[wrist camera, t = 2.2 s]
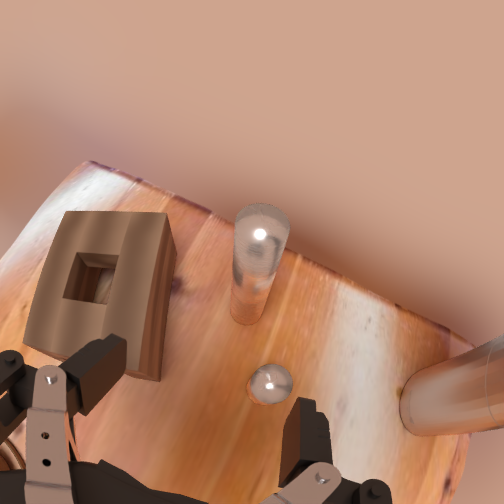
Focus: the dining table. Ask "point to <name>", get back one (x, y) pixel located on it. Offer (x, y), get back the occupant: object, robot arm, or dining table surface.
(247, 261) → the long pin
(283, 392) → the short pin
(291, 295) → the dining table surface
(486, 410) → the robot arm
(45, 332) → the block
